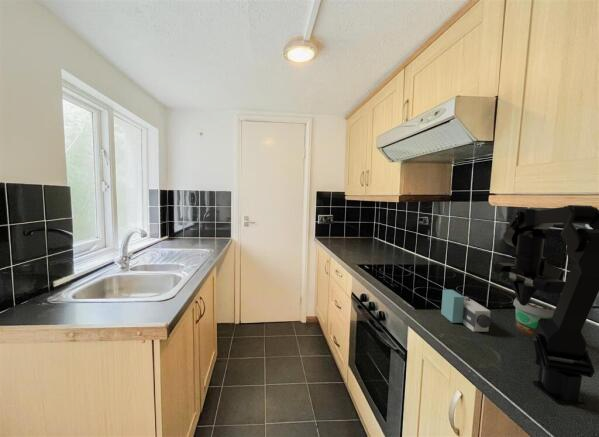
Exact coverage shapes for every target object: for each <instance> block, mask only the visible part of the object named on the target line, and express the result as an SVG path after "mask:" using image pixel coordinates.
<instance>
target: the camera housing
mask: <svg viewBox="0 0 599 437" xmlns="http://www.w3.org/2000/svg"><path fill="white" fill-rule="evenodd" d="M463 297H464V306H463V317H462V323H461V324H462V325H465V327H467V328H468V329H470V331H472V332H474V333H475V332H489V327H490V325H491V324H492V320H491V310H489V309H488V308H486V307H485V306H484V305H481V304H480V303H478V302H476V300H473V299H471V298H470V297H468V296H463Z"/></svg>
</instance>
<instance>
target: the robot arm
mask: <svg viewBox="0 0 599 437" xmlns="http://www.w3.org/2000/svg"><path fill="white" fill-rule="evenodd" d="M554 225H563V228H562V229H561V230H562V231H561V232H560V237H561V238H562V240H563V242H564V243H565V245H566V248H565V253H566V255H567V257H568V260H569V261H570V263H571V266H570V268H569V272H568V275H567V277H566V280H560V279H559V278H560V277H561V274H562V272H563V269H562V268H561V267H557V266H555V265H552V264H550V263H548V259H547V258H546V257H544V256H543V253H544V246H545V245H544V244H545V240H548V238H549V237H548V234H546V233H545V230H547V229H551V228H553V227H554ZM574 225H588V227H589V228H577V229H576V227H575V226H574ZM502 236H503V238H502V239H503V241H504V242H505V243H506V245H507V244H508V245H510V246H512V247H514V248H516V249H515V253H512V254H511V258H514V259H515V260H514V263H511V262H496V263H495V264H494V265H493V269H492V272H494V273H497V274H503V273H504V272H506V273H507V274H509V277H506V280H507V281H508V282H509V285H510V286H511V287H512V290H513V292H514V293H515V296H516V297H517V298H518V300H519V302H520V304H521V305H523V306H526V305H527V303H528V302H529V303H530V300H531V299H532V298H533V295H534V294H535V293H536V292H537V291H540V292H543V293H548V294H550V293H552V294H560V295H559V298H558V301H557V303H556V306H555V309H554V310H555V311H554V314H553V316H552V318H551V319H547V318H540V319H539V320H538V324H537V327H536V328H535V329H534V330H535V333H534V334H533V337H531V343H532V347H531V348H532V356H533V359H534V361H533V362H534V364H536V365H537V366H539V370H538V377H537V378H538V379H537V380H532V383H531V384H533V385H534V386H536V387H537V388H538V389H540V390H541V392H543V393H544V394H546V396H548V397H549V398H551V399H552V400H553V401H554V402H556V403H557V404H586V402H587V400H586V399H584V398H582V397H581V395H580V393H581V385H582V380H583V377H588V378H593V376H594V375H595V368H594V365H593V363H592V360H591V357H590V355H589V353H588V350H587V347H588V343H587V341H586V338H585V336H584V335H583V333H582V331H583V329H584V326H585V324H586V322H587V319H588V317H589V315H590V314H591V310H592V308H593V306H594V304H595V302H596V299H597V297H598V295H599V209H598V207H596V206H595V207H594V206H592V205H577V204H576V205H575V204H573V205H572V204H569V205H566V206H562V207H560V206H559V207H552V208H543V207H541V208H539V207H535V208H534V207H519V208H518V209H517V211H516V212H515V213H514V215H513V217H512V218H511V220H510V221H509V223H508V229H507V230H506V231H505V232H504V233H503V235H502ZM557 358H558V359H557Z"/></svg>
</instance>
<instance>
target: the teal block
mask: <svg viewBox="0 0 599 437" xmlns="http://www.w3.org/2000/svg"><path fill="white" fill-rule="evenodd" d="M464 297H465V296H463V295H462V294H460V293H458V292H457V291H455V290H454V289H442V298H441V307H440V308H441V310H440V311H441V312H440V314H441V315H442V316H444V318H446V319H447V320H448V321H449V322H451V323H453V324H457V323H458V324H463V323H462V317H463V306H464Z"/></svg>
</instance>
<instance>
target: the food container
mask: <svg viewBox="0 0 599 437" xmlns="http://www.w3.org/2000/svg"><path fill="white" fill-rule="evenodd" d="M512 305H513V306H514V307H515V329H516V330H517V331H518V332H519V333H521V334H523V335H525V336H526V337H530V338H532V337H533V334H534V333H535V330H534V329H535V328H536V327H537V324H538V320H539V319H540V318H547V319H551V318H552V316H553V314H554V311H555V309H554V310H551V309H548V308H546V307H544V306H542V305H539V304H537V303H535V302H530V301H529V302H528V303H527V305H526V306H523V305H521V304H520V302H519V300H518V298H517V296H516V297H515V298H514V300H513V304H512Z"/></svg>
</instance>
